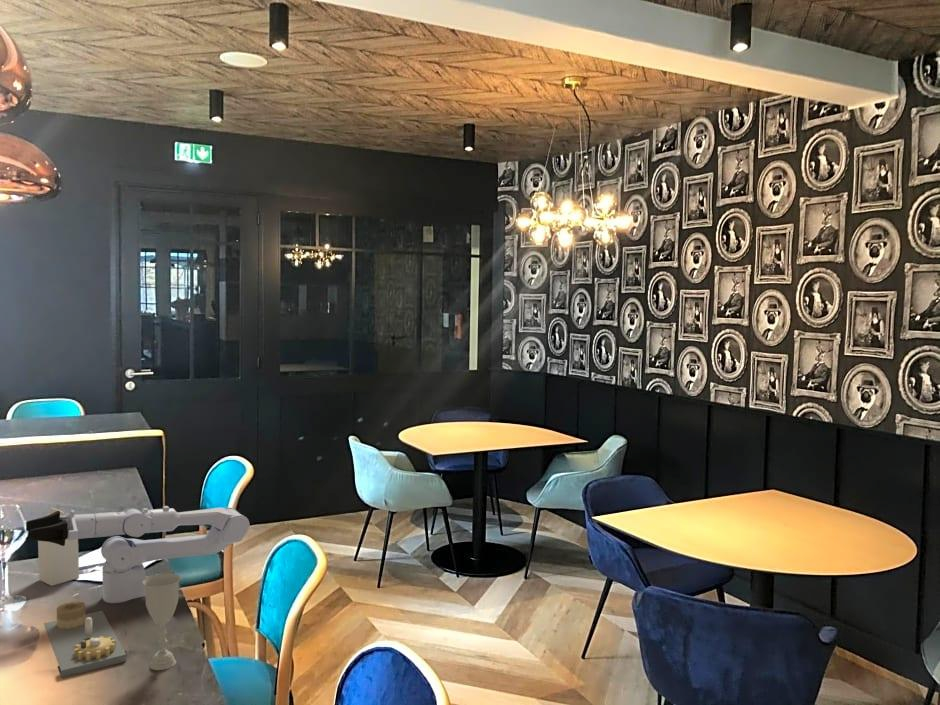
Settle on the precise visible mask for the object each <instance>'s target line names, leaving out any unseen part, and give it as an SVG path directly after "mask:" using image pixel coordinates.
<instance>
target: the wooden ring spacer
mask: <svg viewBox="0 0 940 705" xmlns="http://www.w3.org/2000/svg"><path fill="white" fill-rule="evenodd" d="M85 614H86V604H85V602H84V601H80V600H78V601H77V600H75V601H73V600H72V601H68V602H65V603H62V604H60V605H58V606H57V607H56V621H57V627H58V628H61V629H71V628H75V627H78V626H81V625H83V624H84V623H85V619H86V615H85Z"/></svg>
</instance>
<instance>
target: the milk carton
mask: <svg viewBox="0 0 940 705" xmlns="http://www.w3.org/2000/svg"><path fill="white" fill-rule="evenodd" d="M56 511H60V516H65V512H64V511H62V510H60V509H56V508H54V507H52V506H51V507H50V511H49V512H48V514H46V516H48V515H50V514H52V513H54V512H56ZM37 545H38V546H37V550H38V552H37V553H38V554H37V555H38V580H39V581H41V582H42V583H44V584H47V585H49V586H50V587H51V586H52V587H54V586H56V585H59V584H63V583H67V582H69V581H73V580H76V579H79V578H80V568H79V567H80V564H79V563H80V561H79V539H76V540H68V538H67V539H65V546H61V545H59V544H56V543H52V542H46V541H37Z"/></svg>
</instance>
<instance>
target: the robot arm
mask: <svg viewBox="0 0 940 705" xmlns="http://www.w3.org/2000/svg"><path fill="white" fill-rule="evenodd" d="M60 511H61V510H60ZM60 511H56V512H54V513H52V514H50V515H48V514H47V515H48V516H47V515H45V516H41V517H37V518H34V519H31V520H28V521H26V524H25V531H26V532H29V540H31V541H36V542H38V541H46V542H52V543H56V544H59V545H61V546H65V539H67V538H68V540H76V539H78V540H81V539H89V538H90V539H91V538H103V537H104V538H105V537H108V538H107V539H106V540H105V541H104V542H103V544H102V545H101V550H100V551H101V552H100V553H101V555H102V557H103V559H105V562H104V564H103V566H102V601H103V602H105V603H108V604H118V603H124V602H128V601H130V600H134V599H138V598H142V597H146V588H145V586H144V584H143V580H145V579H146V571H145V567H144V565H143V563H145V562H147V561H149V562H150V561H159V560H168V559H177V558H187V557H196V556H204V555H205V556H208V555H215V554H218V553H219V552H221V551H223V550H225V549H226V548H228V547H229V546H231V545H233V544H235V543H238V542H241V541H243V538H244V537H245V536H246V535H247V534H248V531H249V530H250V526H251V525H250V521H249V519H248V517H246V516H245V515H244V514H241V513H240V512H239V511H238V510H236V509H235V508H233V507H214V508H206V509H205V508H204V509H196V510H187V511H180V512H178V511H176V509H175V508H172V507H171V508H170V507H169V506H168V505H164V506H162V508H156V509H148V508H147V507H143V508H142V510H141V511H140V510H138V509H137V508H132V507H128V508H126V509H123V511H118V512H117V511H115V512H114V511H110V512H98V513H97V512H96V513H94V512H93V513H82V514H81V513H80V514H75V510H74V509H71V510H69V514H68V515H64V516H60ZM201 525H202V526H203V525H210V526H211V527H210V529H209V530H208V532H207V533H206V534H200V535H189V536H188V535H187V536H178V537H177V536H176V537H165V538H156V539H146V540H145V539H137V538H140V537H142V536H143V535H145V534H152V533H160V532H161V533H162V532H173V531H174V530H175V529H176V528H178V526H201ZM122 535H123V536H124V535H128V536H130V537H133V538H125V537H122ZM109 537H110V538H109Z"/></svg>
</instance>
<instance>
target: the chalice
mask: <svg viewBox="0 0 940 705" xmlns="http://www.w3.org/2000/svg"><path fill="white" fill-rule="evenodd" d="M181 577H182V576H181V575H180V574H177V573H161V574H160V573H159V574H155V575H152V576H149V577H145V580H143V584H144V586H145V588H146V596H145V607H146V609H147V612H148V614H149V615H150V617H151V619H152V621H153V622H154V623H155V624H156V625H159V628H160V629H159V631H158V635H159V640H158V642H157V643H158V644H159V647H160V649H159V650H158V651H157V652H156V653H155V654H154V655H153V658H152V659H151V663H150V665H149V668H150V669H151V670H154V671H164V670H168V669H171V668H172V667H175V665H176V664H177V660H176V659H175V656H174V655H173V653H172V651H170V650H168V649H167V648H166V645H167V642H168V639H167V638H166V635H167V633H168V631H166V624H168V623H170V621H171V619H172V617H174V616H173V615H174V613H175V612H176V609H177V605H178V602H179V583H180V581H181Z"/></svg>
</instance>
